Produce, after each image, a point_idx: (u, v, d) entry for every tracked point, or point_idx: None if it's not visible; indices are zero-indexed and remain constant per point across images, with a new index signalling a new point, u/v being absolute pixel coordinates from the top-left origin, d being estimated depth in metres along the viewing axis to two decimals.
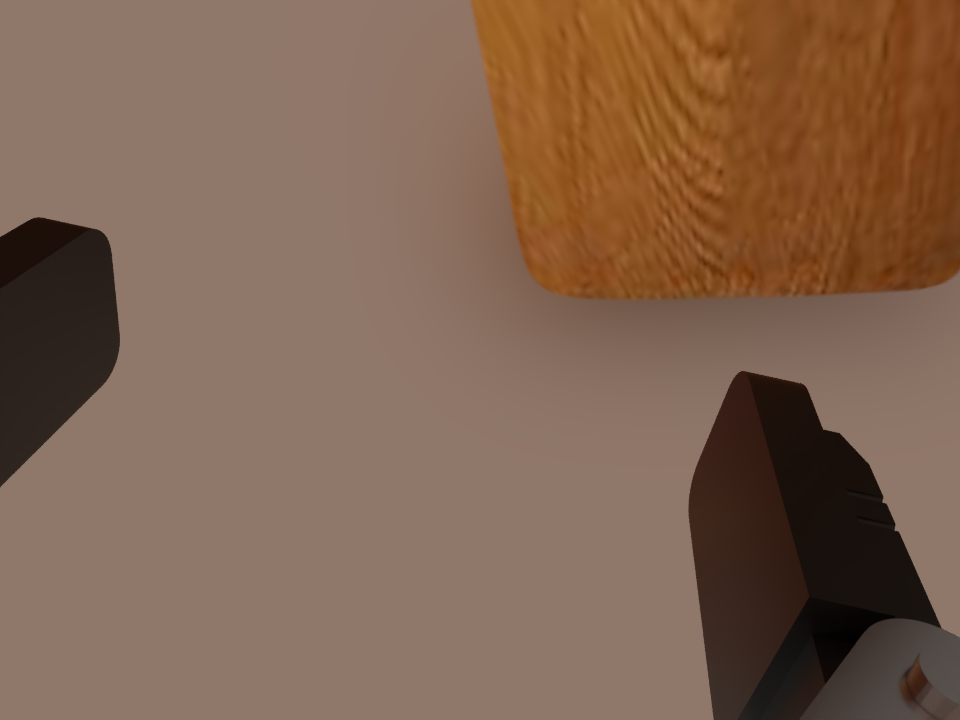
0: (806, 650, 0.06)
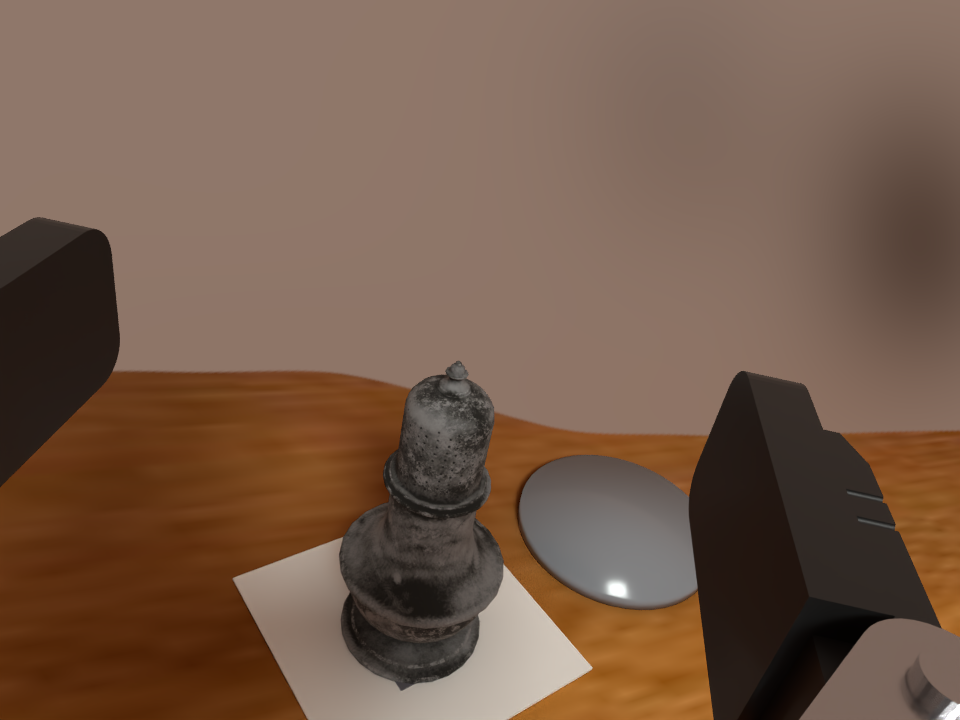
0: (806, 650, 0.06)
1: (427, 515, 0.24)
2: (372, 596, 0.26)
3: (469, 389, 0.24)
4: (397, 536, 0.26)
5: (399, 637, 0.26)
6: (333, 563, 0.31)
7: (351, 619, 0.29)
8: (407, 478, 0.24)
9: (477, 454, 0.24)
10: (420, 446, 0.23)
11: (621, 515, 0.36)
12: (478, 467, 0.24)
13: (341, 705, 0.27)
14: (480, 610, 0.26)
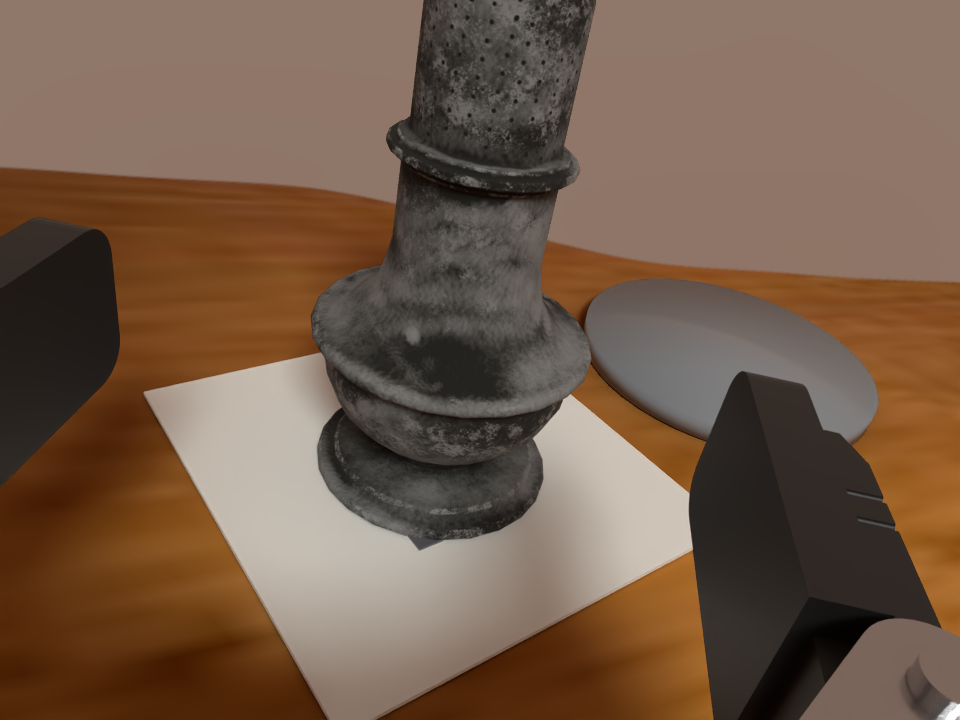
0: (806, 650, 0.06)
1: (471, 182, 0.13)
2: (369, 365, 0.14)
3: None
4: (413, 257, 0.14)
5: (416, 448, 0.15)
6: (307, 382, 0.20)
7: (334, 446, 0.17)
8: (432, 120, 0.13)
9: (566, 55, 0.12)
10: (458, 28, 0.12)
11: (733, 342, 0.25)
12: (565, 95, 0.13)
13: (315, 570, 0.15)
14: (559, 396, 0.15)
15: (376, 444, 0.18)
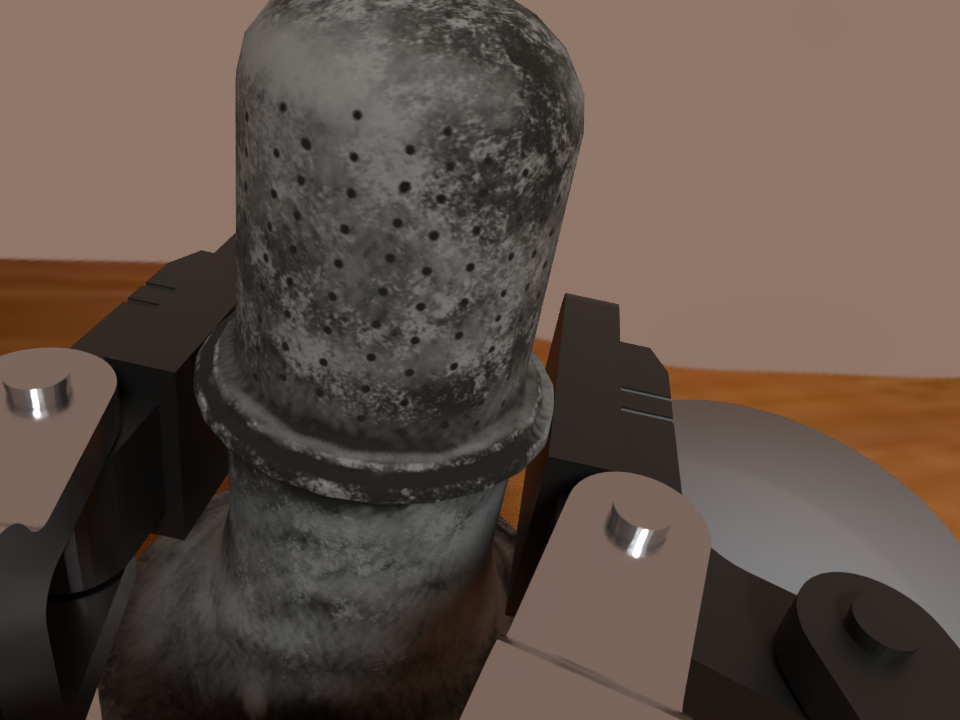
0: (553, 507, 0.07)
1: (329, 492, 0.06)
2: None
3: None
4: (251, 567, 0.08)
5: None
6: None
7: None
8: (258, 356, 0.07)
9: (521, 246, 0.06)
10: (286, 199, 0.06)
11: (779, 509, 0.18)
12: (522, 312, 0.06)
13: None
14: None
15: None
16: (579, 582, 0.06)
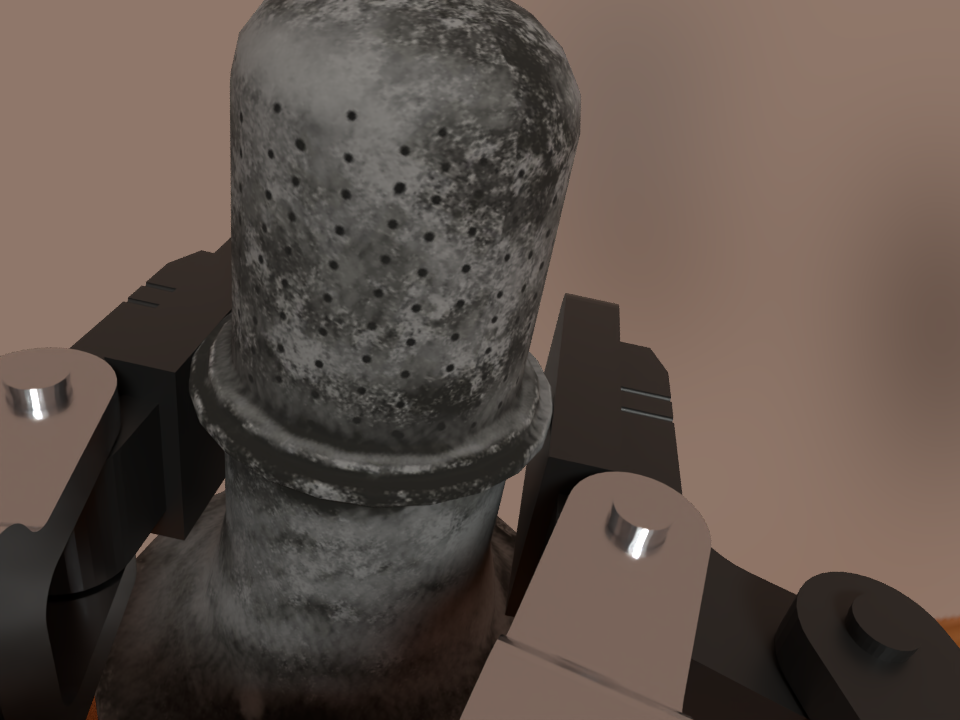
0: (553, 506, 0.07)
1: (325, 494, 0.06)
2: None
3: None
4: (248, 568, 0.08)
5: None
6: None
7: None
8: (255, 358, 0.07)
9: (517, 248, 0.06)
10: (281, 201, 0.06)
11: None
12: (519, 313, 0.06)
13: None
14: None
15: None
16: (579, 582, 0.06)
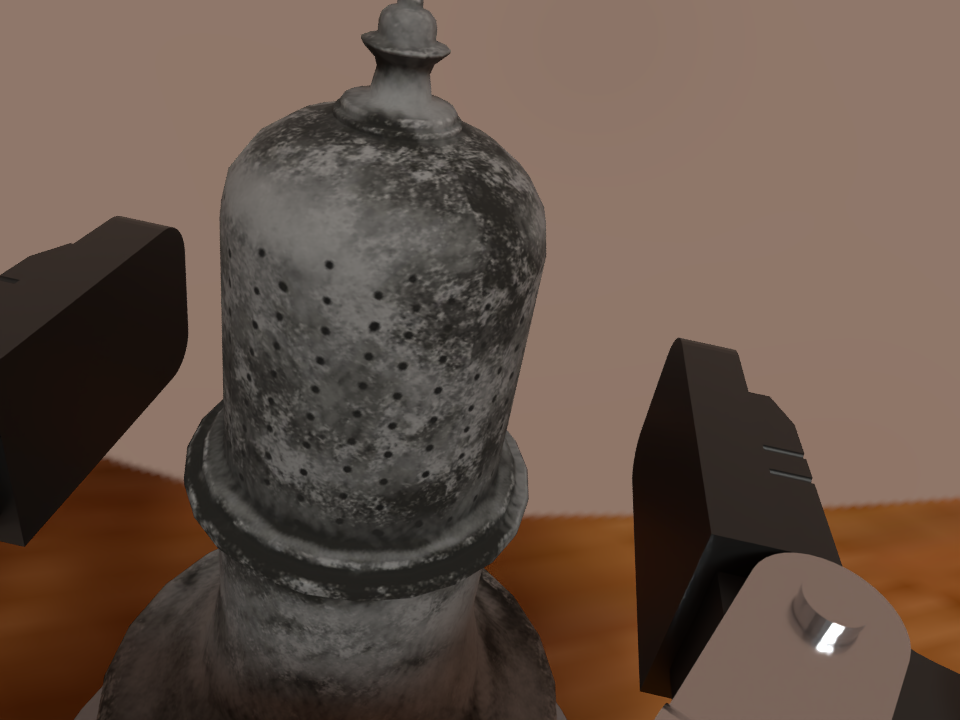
0: (711, 586, 0.07)
1: (310, 591, 0.07)
2: None
3: (456, 122, 0.06)
4: (240, 644, 0.08)
5: None
6: None
7: None
8: (244, 459, 0.07)
9: (486, 367, 0.06)
10: (267, 331, 0.06)
11: None
12: (491, 419, 0.07)
13: None
14: None
15: None
16: (786, 692, 0.05)
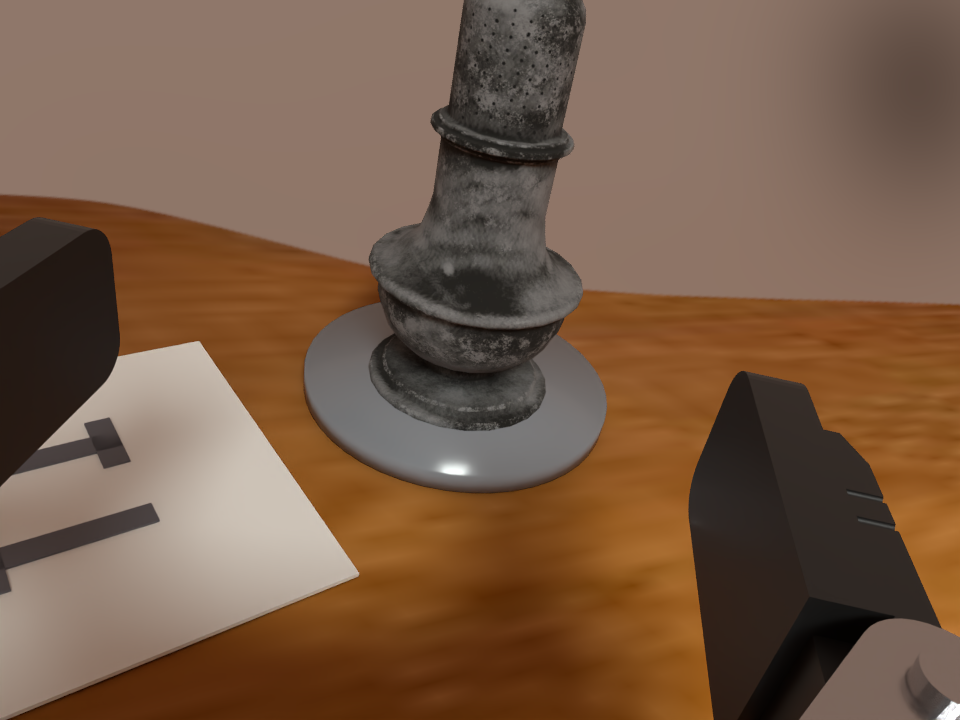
0: (806, 650, 0.06)
1: (494, 152, 0.18)
2: (416, 291, 0.19)
3: None
4: (449, 209, 0.19)
5: (450, 355, 0.20)
6: None
7: (382, 363, 0.22)
8: (466, 107, 0.18)
9: (563, 61, 0.17)
10: (486, 41, 0.17)
11: None
12: (563, 89, 0.18)
13: None
14: (558, 316, 0.20)
15: (415, 362, 0.22)
16: None
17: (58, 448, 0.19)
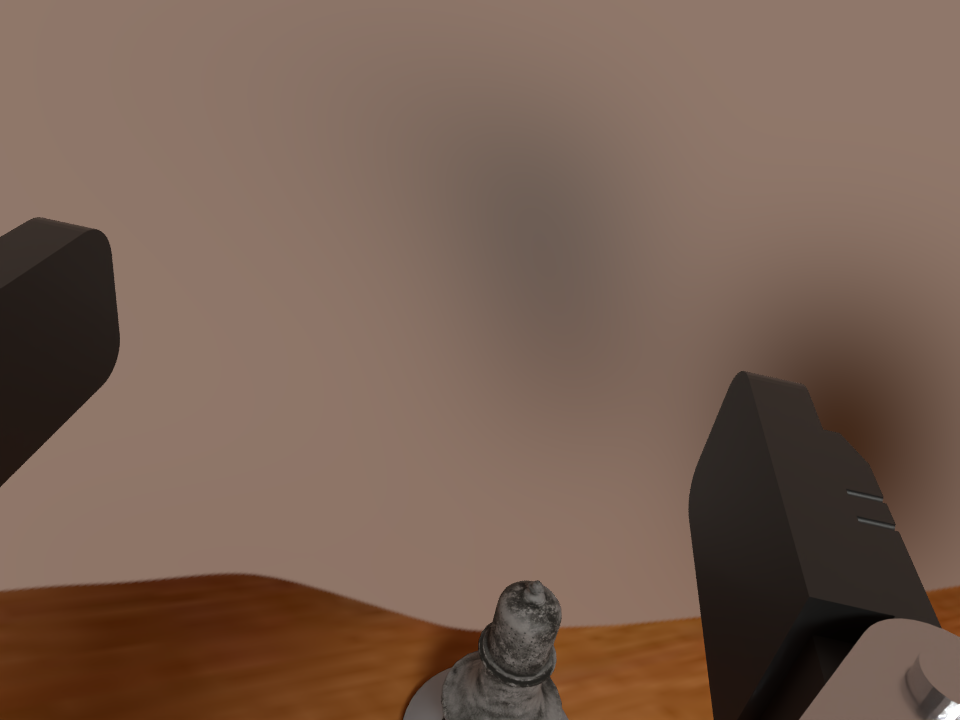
0: (806, 649, 0.06)
1: (513, 685, 0.34)
2: None
3: (544, 598, 0.33)
4: (488, 693, 0.35)
5: None
6: None
7: None
8: (498, 657, 0.34)
9: (549, 643, 0.33)
10: (510, 639, 0.33)
11: None
12: (549, 650, 0.34)
13: None
14: None
15: None
16: None
17: None
